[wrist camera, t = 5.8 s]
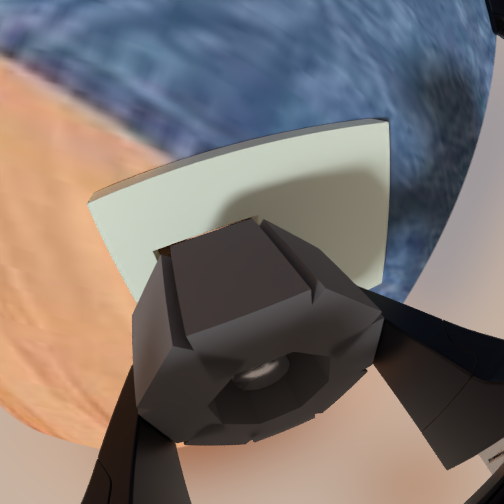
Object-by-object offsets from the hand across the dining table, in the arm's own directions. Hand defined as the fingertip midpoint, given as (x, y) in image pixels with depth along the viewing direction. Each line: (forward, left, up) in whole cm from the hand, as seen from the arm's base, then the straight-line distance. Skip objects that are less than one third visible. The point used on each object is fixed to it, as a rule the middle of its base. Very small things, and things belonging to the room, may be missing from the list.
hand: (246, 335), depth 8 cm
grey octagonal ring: (0, 0, -1) cm, 1 cm away
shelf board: (-2, 0, -4) cm, 5 cm away
